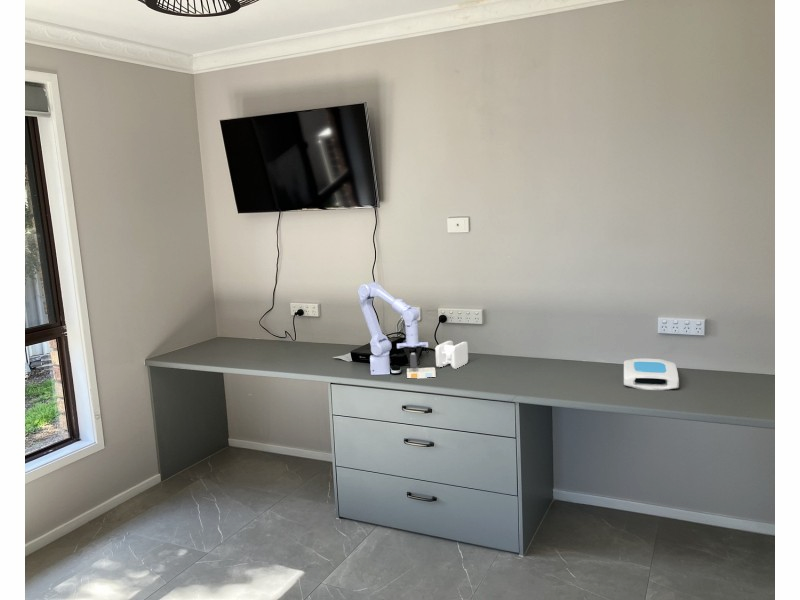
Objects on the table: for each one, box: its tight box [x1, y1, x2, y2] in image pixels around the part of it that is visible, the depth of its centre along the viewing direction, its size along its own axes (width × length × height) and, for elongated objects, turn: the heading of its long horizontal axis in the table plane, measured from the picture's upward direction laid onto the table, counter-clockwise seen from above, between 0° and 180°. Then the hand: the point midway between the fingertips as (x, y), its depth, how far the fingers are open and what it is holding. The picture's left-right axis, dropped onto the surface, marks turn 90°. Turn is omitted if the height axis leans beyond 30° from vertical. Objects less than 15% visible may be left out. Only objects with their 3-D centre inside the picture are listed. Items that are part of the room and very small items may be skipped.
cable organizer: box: [434, 340, 469, 370], centre depth 308 cm, size 15×11×12 cm
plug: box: [409, 352, 418, 368], centre depth 294 cm, size 3×3×7 cm
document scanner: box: [623, 357, 680, 391], centre depth 271 cm, size 21×28×6 cm
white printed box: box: [406, 367, 437, 379], centre depth 295 cm, size 13×7×3 cm, turn 89°
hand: (413, 362), depth 294 cm, fingers closed on plug, 3 cm apart
